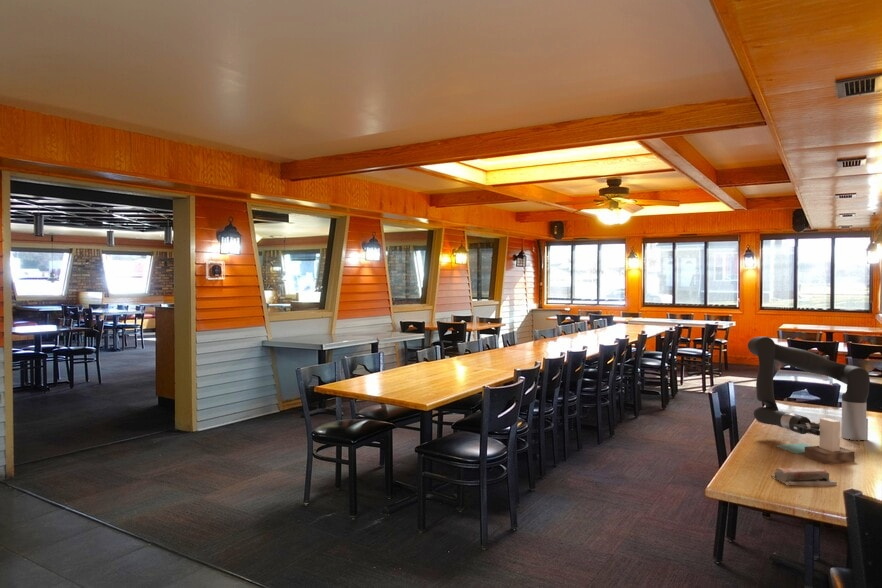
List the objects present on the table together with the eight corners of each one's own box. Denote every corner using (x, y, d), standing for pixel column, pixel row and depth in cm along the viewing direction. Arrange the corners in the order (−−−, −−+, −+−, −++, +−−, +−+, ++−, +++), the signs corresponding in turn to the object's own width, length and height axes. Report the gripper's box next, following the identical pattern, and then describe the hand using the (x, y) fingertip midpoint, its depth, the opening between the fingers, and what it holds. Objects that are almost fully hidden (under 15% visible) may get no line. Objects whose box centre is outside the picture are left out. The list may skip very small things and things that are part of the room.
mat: (803, 444, 254) (803, 443, 254) (825, 451, 243) (825, 450, 243) (776, 446, 251) (776, 445, 251) (797, 454, 240) (797, 452, 240)
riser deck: (832, 454, 240) (832, 444, 240) (854, 461, 230) (854, 451, 230) (804, 456, 237) (804, 446, 237) (825, 464, 227) (825, 453, 227)
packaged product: (787, 473, 202) (770, 465, 212) (787, 487, 202) (770, 478, 212) (837, 473, 203) (817, 464, 213) (837, 486, 203) (817, 477, 213)
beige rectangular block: (826, 446, 237) (826, 417, 237) (839, 451, 231) (839, 421, 231) (819, 447, 236) (819, 418, 236) (832, 451, 230) (832, 421, 230)
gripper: (781, 415, 248) (813, 424, 232) (809, 413, 251) (842, 422, 235) (781, 432, 248) (813, 442, 232) (809, 430, 251) (842, 440, 236)
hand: (828, 432), depth 234 cm, fingers open, 8 cm apart
